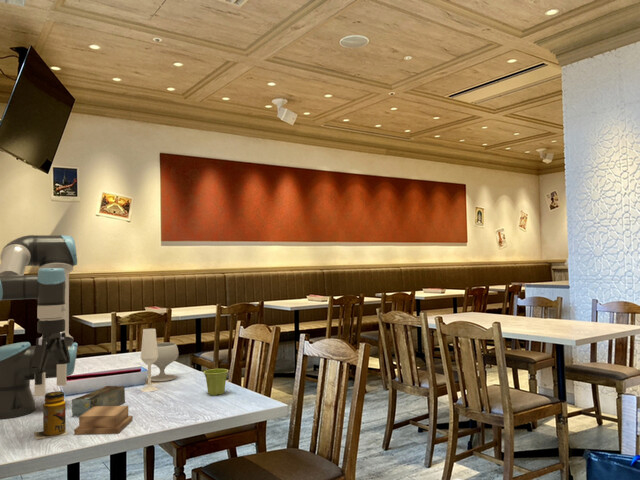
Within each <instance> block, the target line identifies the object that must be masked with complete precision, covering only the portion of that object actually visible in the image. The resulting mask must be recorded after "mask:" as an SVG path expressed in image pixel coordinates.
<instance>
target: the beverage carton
mask: <svg viewBox="0 0 640 480" xmlns="http://www.w3.org/2000/svg"><path fill="white" fill-rule="evenodd" d="M125 391H126V390H125V386H124V385H121V386H118V385H106V386H104V387H101V388H99V389H96V390H94V391H92V392H89V393H86V394H84V395H81V396H78V397H75V398H72V400H71V413H72V417H74V416H77V418H79V416H81V415H82V414H84V413H85V412H86V411H88V410H89V409H91V408H92V407H94V406H121V405H122V404H124V403H126V396H125V395H126V394H125V393H126V392H125Z"/></svg>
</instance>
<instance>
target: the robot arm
mask: <svg viewBox="0 0 640 480" xmlns="http://www.w3.org/2000/svg"><path fill="white" fill-rule="evenodd" d="M33 266H34V267H39V268H38V270H37V274H25V272H26V271H25V270H26V267H33ZM74 266H78V255H77V248H76V241H75V239H74V237H73V236H71V235H62V234H59V235H58V234H57V235H53V234H52V235H51V234H50V235H49V234H48V235H46V234H44V235H43V234H42V235H41V234H39V235H35V234H29V235H23V236H20V237H18V238H15V239H13V240H11V241H9V242H8V243H7V244H5V245H4V247H3V248H2V250H1V252H0V301H11V300H12V301H13V300H33V299H34V300H37V308H36V310H37V314H36V315H37V317H36V318H37V319H38V321H37V324H36V325H37V326H36V327H37V328H36V329H37V333H38V334H42V336H41V337H36V339H35V345H31V343H30V342H29V341H21V342H16V343H11V344H5V345H2V346H0V419H1V420H2V419H10V418H11V419H12V418H16V417H21V416H25V415H28V414H31V413H33V412H34V411H36V401H35V398H34V397H45V394H46V380H47V379H55V378H56V386H57V387H58V386H67V377H69V376H72V375H73V374H74V373H75V369H76V360H77V352H78V345H79V344H78V343H77V342H76V341H75V342H74V337H73V336H71V334H70V333H69V332H70V331H69V330H70V328H69V327H70V324H69V323H70V313H69V312H70V306H69V305H70V302H69V300H70V297H69V296H70V273H72V271H73V270H74ZM33 380H34V395H33V393H32V390H31V381H33Z"/></svg>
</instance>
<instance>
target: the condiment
mask: <svg viewBox="0 0 640 480" xmlns="http://www.w3.org/2000/svg"><path fill="white" fill-rule="evenodd" d="M42 408H43V409H42V412H43V417H42V418H43V420H42V424H43V425H42V430H41V431H34V432H33V434H34V436H35V439H36V441H37V440H41V439H46V438H51V437H52V438H55V437H60V436H65V435H68V434H69V432H68V431H67V429H66V419H67V417H66V413H67V412H66V411H67V410H66V400H65V393H64V392H63V391H50V392H48V393H45V396H44V403H43V406H42Z"/></svg>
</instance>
